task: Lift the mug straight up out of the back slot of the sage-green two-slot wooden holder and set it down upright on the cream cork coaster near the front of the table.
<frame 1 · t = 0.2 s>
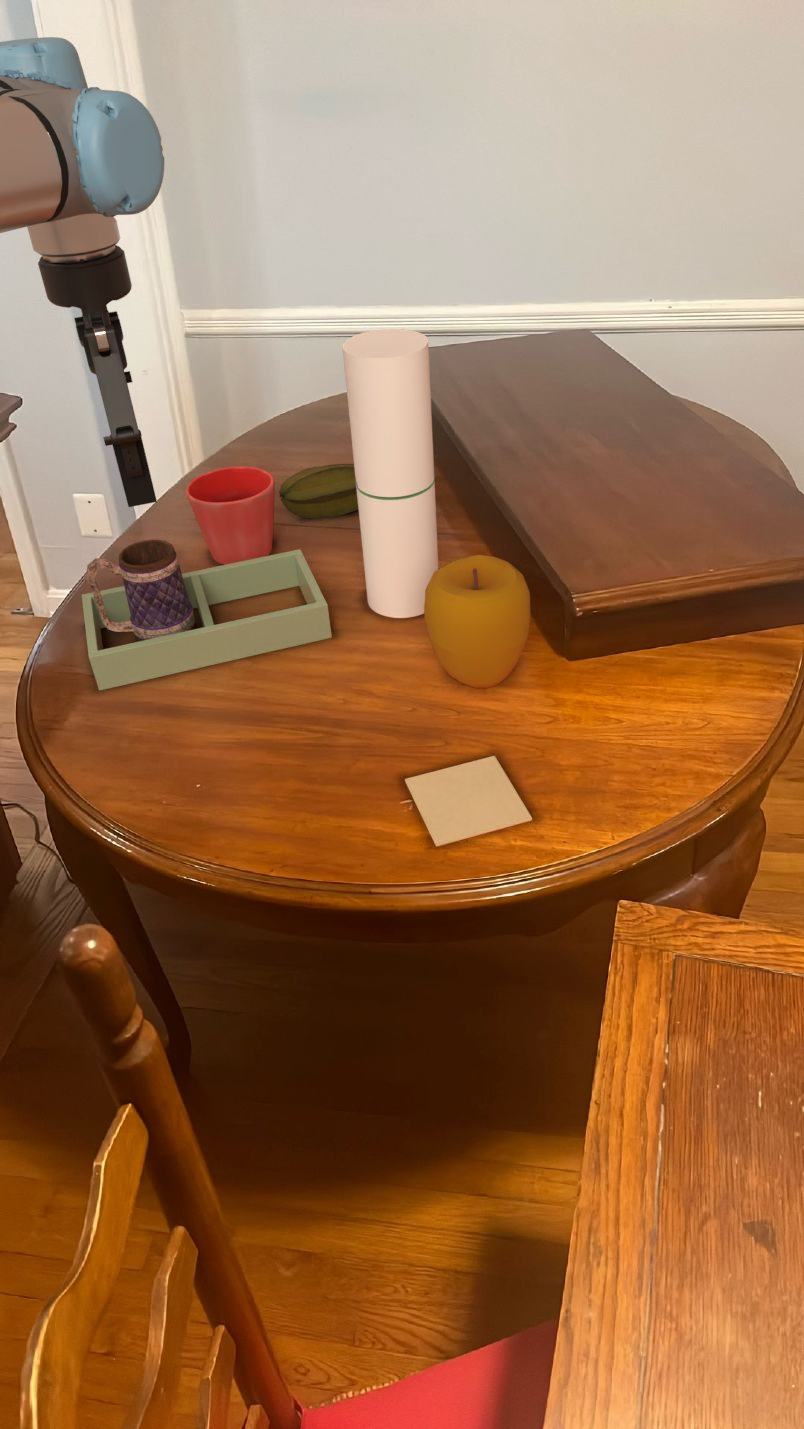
hand: (135, 475, 101), 21 cm above the table, tool pointing down, fingers open, 13 cm apart
fruit: (335, 513, 136), on the table
apple: (478, 673, 106), on the table
mug: (155, 645, 114), resting in holder
holder: (209, 632, 115), on the table
flower pot: (242, 553, 129), on the table
container: (403, 600, 118), on the table
coaster: (466, 801, 90), on the table
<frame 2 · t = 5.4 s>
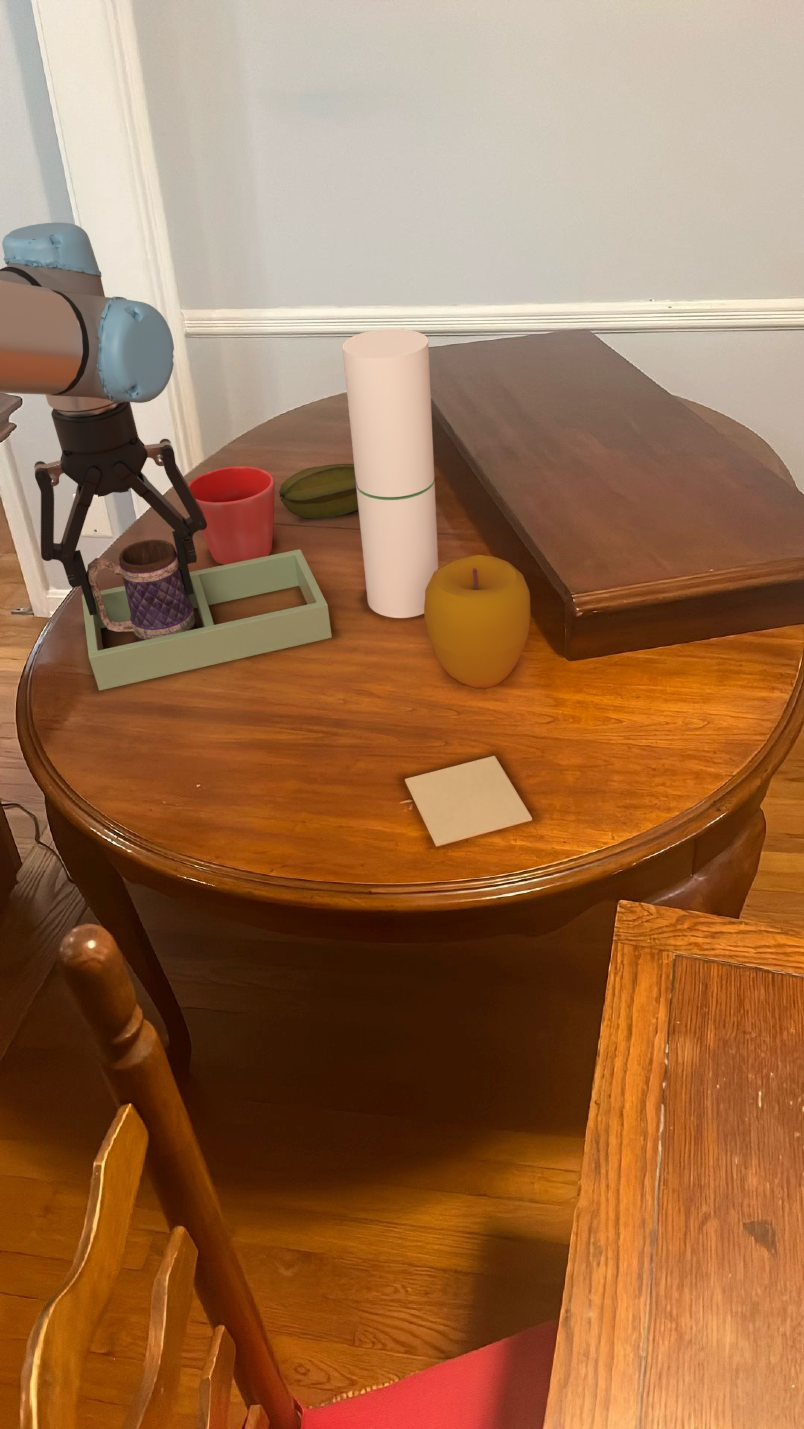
hand: (141, 598, 110), 6 cm above the table, tool pointing down, fingers closed on mug, 10 cm apart
mug: (155, 645, 114), resting in holder, touching gripper
everything else where it was.
when the fingers open (7 cm above the table, at t = 14.3 s): mug stays where it is, resting on coaster.
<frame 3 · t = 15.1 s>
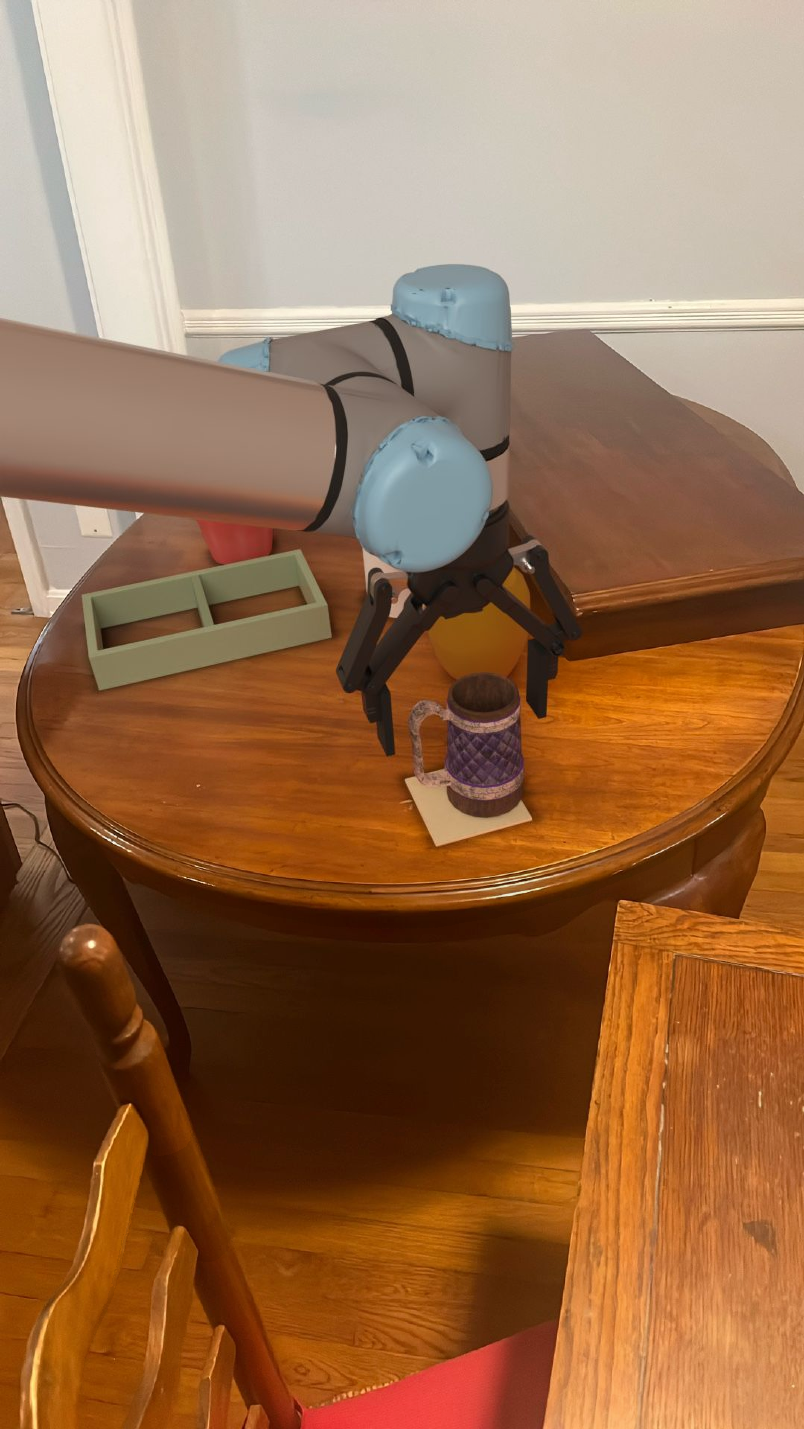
hand: (462, 727, 85), 9 cm above the table, tool pointing down, fingers open, 13 cm apart
mug: (468, 799, 90), resting on coaster
everything else where it was.
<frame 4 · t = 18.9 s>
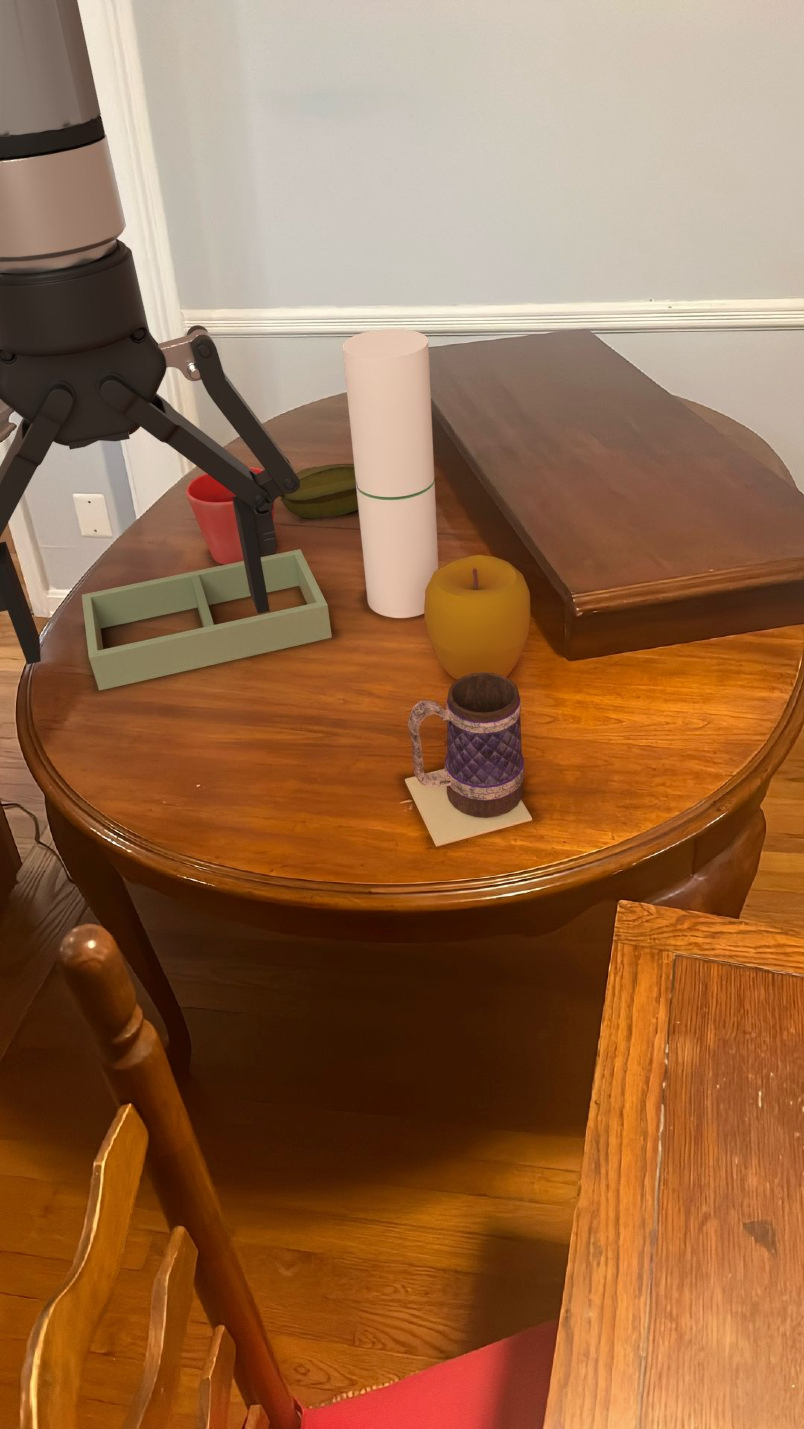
hand: (149, 626, 60), 31 cm above the table, tool pointing down, fingers open, 13 cm apart
nothing on the table moved.
at the end: mug inside the target area on the coaster (0.2 cm from its centre), point 0.2 cm above the coaster's base; mug tilted 0°; mug touching coaster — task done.
